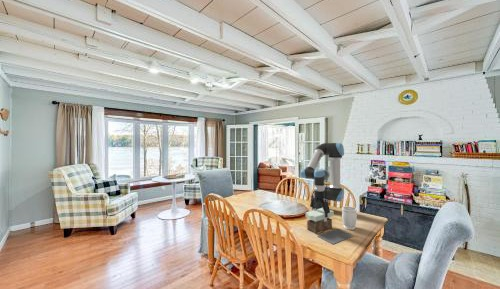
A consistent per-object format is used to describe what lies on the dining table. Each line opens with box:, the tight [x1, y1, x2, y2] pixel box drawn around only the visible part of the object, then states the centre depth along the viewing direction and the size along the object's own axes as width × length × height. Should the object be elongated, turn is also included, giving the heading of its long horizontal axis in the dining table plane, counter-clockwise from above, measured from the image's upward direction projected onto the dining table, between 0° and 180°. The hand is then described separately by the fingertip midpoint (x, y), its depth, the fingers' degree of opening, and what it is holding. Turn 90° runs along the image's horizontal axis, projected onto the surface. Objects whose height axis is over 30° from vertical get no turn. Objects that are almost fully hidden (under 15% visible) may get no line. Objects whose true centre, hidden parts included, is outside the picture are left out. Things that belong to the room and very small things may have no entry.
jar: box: [341, 205, 358, 231], centre depth 158 cm, size 11×10×15 cm
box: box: [306, 217, 333, 235], centre depth 157 cm, size 18×8×7 cm, turn 120°
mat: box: [316, 228, 354, 245], centre depth 145 cm, size 22×13×1 cm, turn 120°
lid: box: [305, 208, 335, 222], centre depth 156 cm, size 22×10×4 cm, turn 120°
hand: (319, 218), depth 157 cm, fingers closed on lid, 10 cm apart
